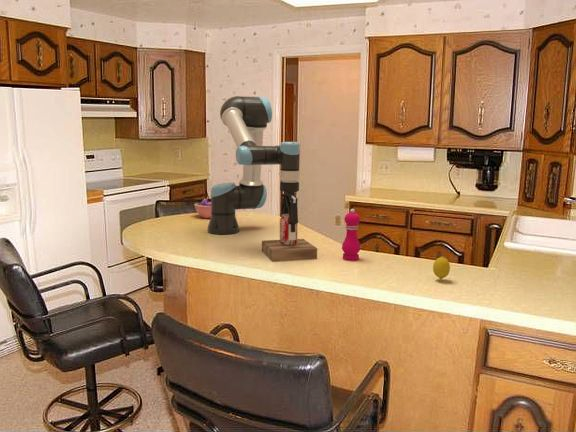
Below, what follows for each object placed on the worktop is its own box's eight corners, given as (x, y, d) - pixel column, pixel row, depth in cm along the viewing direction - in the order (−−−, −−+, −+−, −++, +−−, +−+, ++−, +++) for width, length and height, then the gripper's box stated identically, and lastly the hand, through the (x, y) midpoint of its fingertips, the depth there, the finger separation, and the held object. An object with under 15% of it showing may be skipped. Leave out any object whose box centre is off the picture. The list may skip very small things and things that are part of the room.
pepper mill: (361, 257, 201) (363, 207, 197) (357, 261, 194) (360, 210, 191) (343, 255, 203) (345, 206, 200) (339, 260, 196) (341, 209, 193)
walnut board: (261, 252, 210) (261, 240, 209) (302, 250, 215) (303, 238, 214) (272, 263, 193) (272, 250, 192) (316, 260, 198) (317, 248, 197)
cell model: (228, 221, 273) (228, 201, 271) (191, 221, 273) (191, 200, 271) (231, 216, 290) (231, 196, 288) (196, 215, 290) (196, 196, 288)
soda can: (295, 246, 199) (295, 216, 197) (278, 245, 200) (278, 216, 198) (298, 242, 206) (298, 213, 204) (281, 241, 207) (281, 213, 205)
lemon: (429, 276, 176) (431, 254, 174) (445, 276, 176) (446, 254, 175) (435, 281, 170) (437, 258, 169) (451, 281, 171) (453, 258, 169)
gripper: (273, 178, 207) (273, 232, 211) (288, 184, 188) (287, 243, 191) (290, 178, 209) (290, 232, 213) (307, 184, 190) (306, 242, 194)
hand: (288, 237), depth 202 cm, fingers open, 8 cm apart
